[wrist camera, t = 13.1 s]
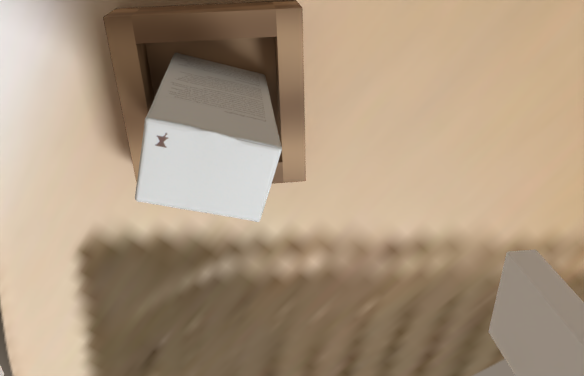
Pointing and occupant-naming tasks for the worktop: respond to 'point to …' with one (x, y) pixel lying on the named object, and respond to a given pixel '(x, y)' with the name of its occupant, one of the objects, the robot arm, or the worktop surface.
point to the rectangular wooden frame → (217, 48)
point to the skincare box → (209, 140)
